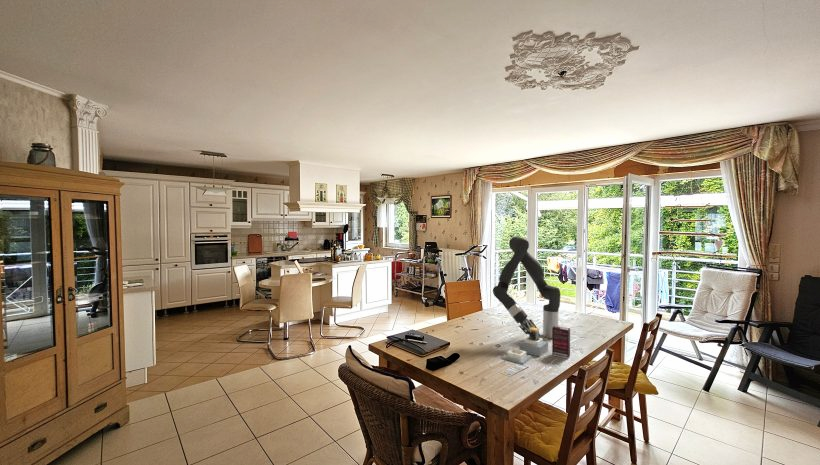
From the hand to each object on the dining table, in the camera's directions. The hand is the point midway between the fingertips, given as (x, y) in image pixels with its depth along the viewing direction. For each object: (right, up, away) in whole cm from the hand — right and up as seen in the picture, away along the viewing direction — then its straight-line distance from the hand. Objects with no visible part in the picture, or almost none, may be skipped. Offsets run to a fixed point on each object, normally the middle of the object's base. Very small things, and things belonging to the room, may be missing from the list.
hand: (537, 337), depth 191 cm
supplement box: (+11, -9, -6) cm, 15 cm away
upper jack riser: (-1, -8, +1) cm, 8 cm away
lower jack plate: (-15, -8, -10) cm, 19 cm away
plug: (-1, -3, +1) cm, 4 cm away
